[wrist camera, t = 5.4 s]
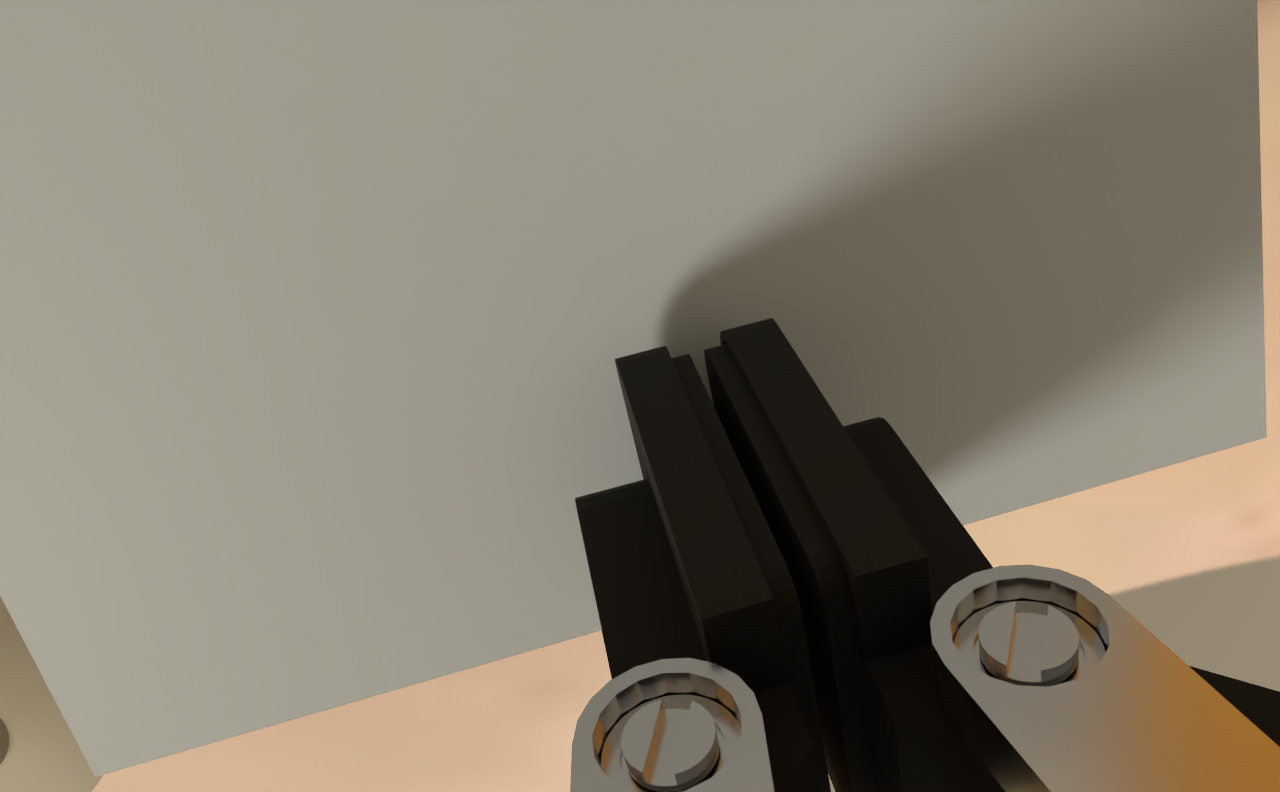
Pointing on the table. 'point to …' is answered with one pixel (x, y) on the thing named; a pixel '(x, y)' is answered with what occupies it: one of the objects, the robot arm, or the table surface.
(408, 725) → the table surface
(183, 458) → the lid
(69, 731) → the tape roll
